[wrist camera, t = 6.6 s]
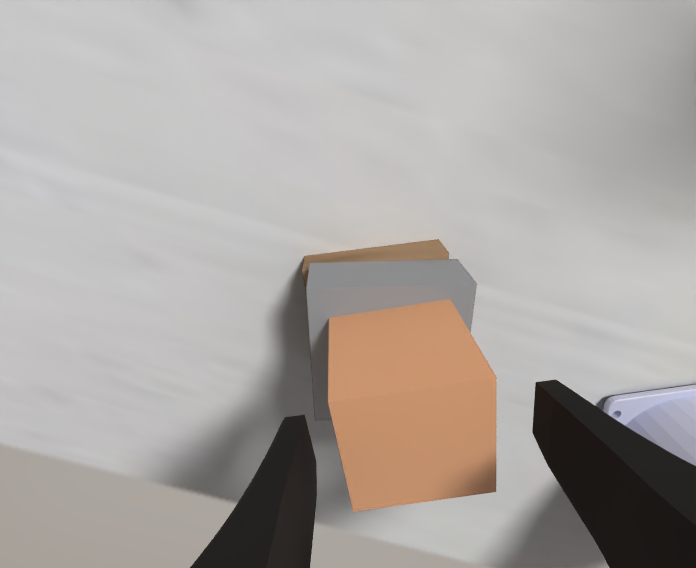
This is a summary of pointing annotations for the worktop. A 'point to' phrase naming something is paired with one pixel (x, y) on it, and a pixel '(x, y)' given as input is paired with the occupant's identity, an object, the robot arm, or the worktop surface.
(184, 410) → the worktop surface
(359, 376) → the terracotta cube
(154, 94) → the worktop surface
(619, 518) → the robot arm
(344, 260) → the walnut slab
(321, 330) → the slate slab
